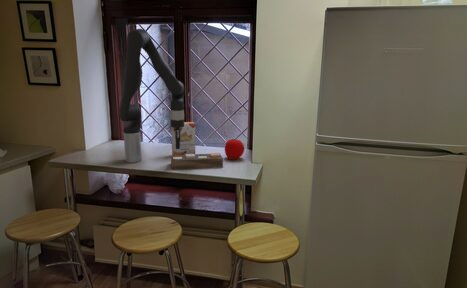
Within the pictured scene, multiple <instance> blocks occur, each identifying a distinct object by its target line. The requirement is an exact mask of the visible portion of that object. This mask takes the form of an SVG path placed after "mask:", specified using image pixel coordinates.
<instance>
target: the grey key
mask: <svg viewBox="0 0 467 288" xmlns="http://www.w3.org/2000/svg"><path fill="white" fill-rule="evenodd" d="M195 154H196V153H195ZM195 154H186V159H187V158H195Z"/></svg>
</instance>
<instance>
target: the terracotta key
mask: <svg viewBox="0 0 467 288" xmlns="http://www.w3.org/2000/svg"><path fill="white" fill-rule="evenodd" d="M209 154H210V157H211V158H213V157H220V155H219V152H210V153H209Z"/></svg>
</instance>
